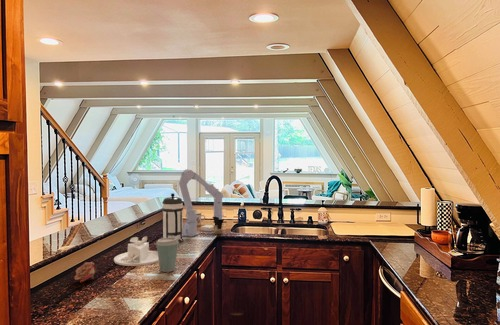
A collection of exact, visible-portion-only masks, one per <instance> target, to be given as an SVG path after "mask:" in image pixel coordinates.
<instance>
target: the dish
mask: <svg viewBox="0 0 500 325" xmlns="http://www.w3.org/2000/svg"><path fill="white" fill-rule="evenodd" d="M147 240H148V236H147V235H146V236H143V237H142V239H141V240H139V237H137V236H135V237H131V238H130V239H129V242H130V243H127V252H124V253H121V254H118V255H116V256H114V258H113V262H114V263H115V264H116V265H119V266H127V267H133V266H134V267H138V266H146V265H152V264H156V263H157V262H158V263H159V258H158V252H157V250H149V249H150V244H149V243H150V241H148V242H147Z"/></svg>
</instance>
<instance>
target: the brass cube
mask: <svg viewBox="0 0 500 325" xmlns="http://www.w3.org/2000/svg"><path fill="white" fill-rule="evenodd" d="M213 233H214V234H216V235H218V233H221V234H223V226H222V227H221V229H218V227H217V225H215V224H214V230H213Z"/></svg>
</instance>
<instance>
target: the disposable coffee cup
mask: <svg viewBox="0 0 500 325" xmlns="http://www.w3.org/2000/svg"><path fill="white" fill-rule="evenodd" d="M179 242H180V241H179V240H177V238H176V237H168V238H163V237H162V238H159V239H158V240H157V241H155V245H156V251H157V252H158V258H159V261H158V263H159V270H160V271H161V272H163V273H164V272H166V273H169V272H173V271H174V270H175V267H176V261H177V253H178V247H179V244H180V243H179Z"/></svg>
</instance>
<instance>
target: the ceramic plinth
mask: <svg viewBox="0 0 500 325" xmlns="http://www.w3.org/2000/svg"><path fill="white" fill-rule="evenodd" d="M214 225H215V224H214ZM214 225H212V224H205V225H202V226H200V231H201V232H202V231H203V232H214Z"/></svg>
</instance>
